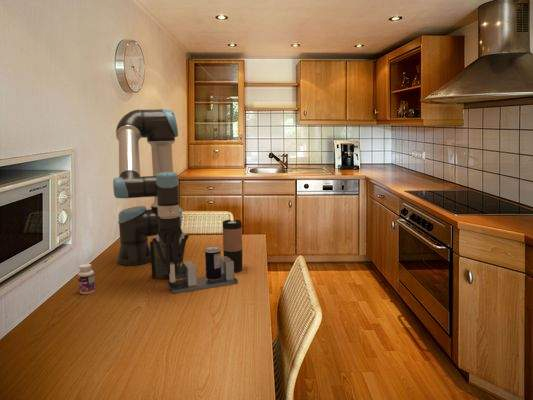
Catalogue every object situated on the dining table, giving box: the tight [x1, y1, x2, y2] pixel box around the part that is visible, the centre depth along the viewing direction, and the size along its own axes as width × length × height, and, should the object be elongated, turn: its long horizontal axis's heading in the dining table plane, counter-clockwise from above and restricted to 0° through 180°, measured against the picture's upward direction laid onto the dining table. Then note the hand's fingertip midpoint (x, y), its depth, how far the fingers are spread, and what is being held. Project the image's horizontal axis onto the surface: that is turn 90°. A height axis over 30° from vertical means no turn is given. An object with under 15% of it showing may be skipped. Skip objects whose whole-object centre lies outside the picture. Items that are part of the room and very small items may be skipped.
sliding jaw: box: [175, 260, 197, 287], centre depth 168 cm, size 8×7×7 cm
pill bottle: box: [77, 263, 96, 295], centre depth 165 cm, size 5×5×10 cm
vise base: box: [166, 255, 239, 295], centre depth 170 cm, size 10×24×8 cm, turn 114°
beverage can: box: [204, 245, 222, 281], centre depth 172 cm, size 6×6×12 cm
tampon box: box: [149, 236, 184, 280], centre depth 182 cm, size 11×9×15 cm
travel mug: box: [222, 219, 243, 274], centre depth 185 cm, size 8×8×20 cm
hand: (172, 281), depth 166 cm, fingers closed
